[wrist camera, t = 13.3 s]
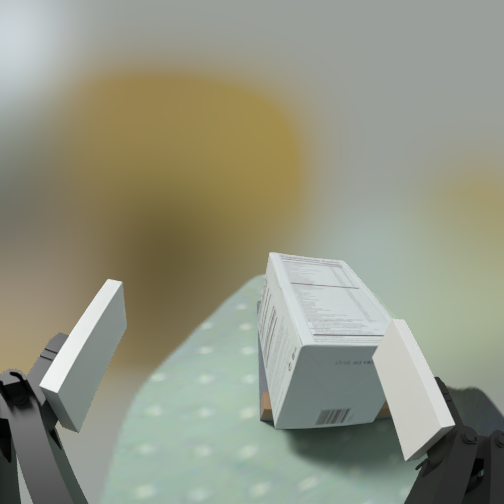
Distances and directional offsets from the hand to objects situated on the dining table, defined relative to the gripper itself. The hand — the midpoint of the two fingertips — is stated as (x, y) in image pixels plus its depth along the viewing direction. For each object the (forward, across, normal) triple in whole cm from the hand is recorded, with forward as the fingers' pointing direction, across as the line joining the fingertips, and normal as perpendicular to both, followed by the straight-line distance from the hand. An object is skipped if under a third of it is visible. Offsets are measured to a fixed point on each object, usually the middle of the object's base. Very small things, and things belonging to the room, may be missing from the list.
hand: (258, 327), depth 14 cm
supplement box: (+2, +8, -8) cm, 12 cm away
